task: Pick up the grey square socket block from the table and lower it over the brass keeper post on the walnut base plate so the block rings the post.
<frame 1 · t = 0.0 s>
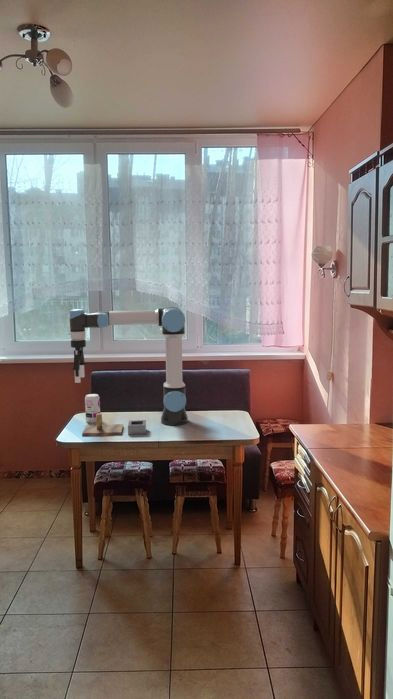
hand: (79, 379, 261), 28 cm above the table, tool pointing down, fingers open, 13 cm apart
grey square socket block: (137, 432, 264), on the table
keeper plate: (103, 431, 265), on the table
supplement can: (93, 421, 285), on the table
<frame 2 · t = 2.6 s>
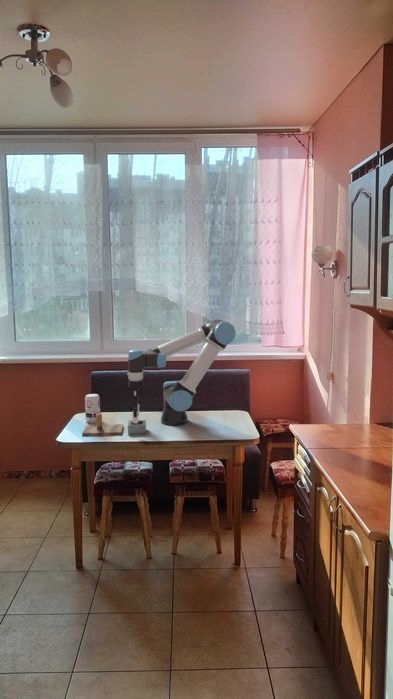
hand: (136, 419, 262), 7 cm above the table, tool pointing down, fingers open, 13 cm apart
nothing on the table moved.
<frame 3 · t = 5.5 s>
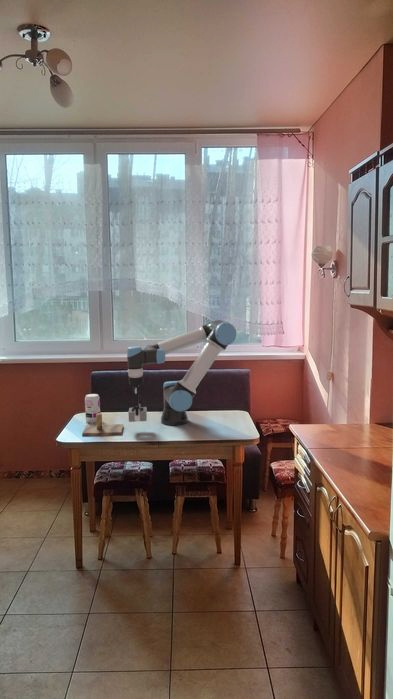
hand: (138, 418, 263), 7 cm above the table, tool pointing down, fingers closed on grey square socket block, 9 cm apart
grey square socket block: (138, 418, 263), point 7 cm above the table, touching gripper
everything else where it was.
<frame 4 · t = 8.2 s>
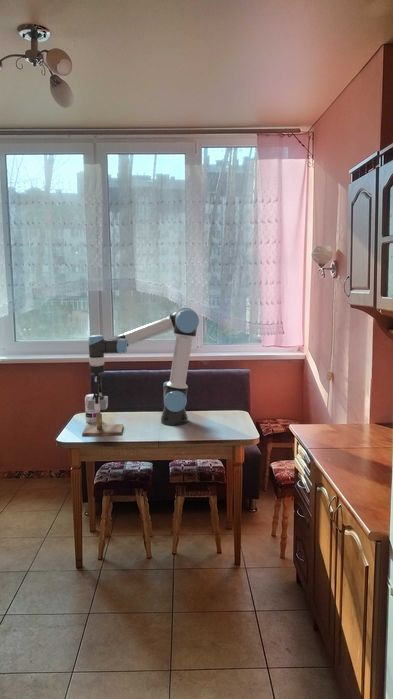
hand: (98, 407, 263), 13 cm above the table, tool pointing down, fingers closed on grey square socket block, 9 cm apart
grey square socket block: (98, 407, 263), point 13 cm above the table, touching gripper
everything else where it was.
when the fingers open (2 cm above the table, at t = 11.0 s): grey square socket block stays where it is, resting on keeper plate.
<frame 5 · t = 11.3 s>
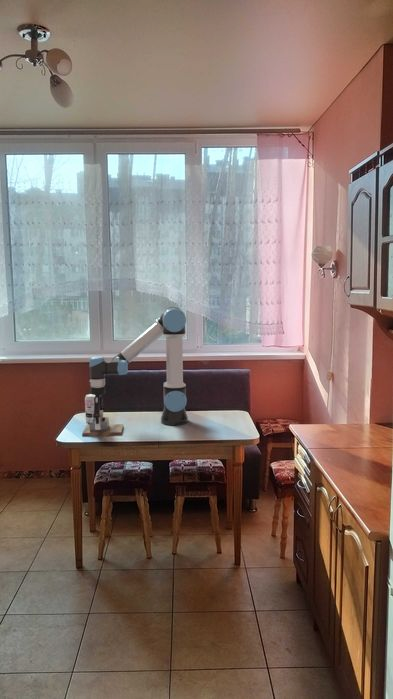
hand: (99, 425, 265), 3 cm above the table, tool pointing down, fingers open, 13 cm apart
grey square socket block: (99, 428, 265), point 1 cm above the table, touching keeper plate
everything else where it was.
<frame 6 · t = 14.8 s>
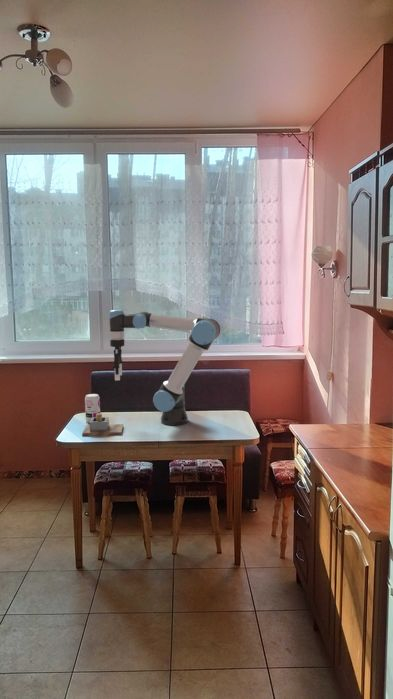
hand: (118, 377, 272), 27 cm above the table, tool pointing down, fingers open, 13 cm apart
nothing on the table moved.
at the end: grey square socket block 0.0 cm from the target spot on the keeper plate, point 1.5 cm above the keeper plate's base; grey square socket block tilted 0°; the gripper is holding nothing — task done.
